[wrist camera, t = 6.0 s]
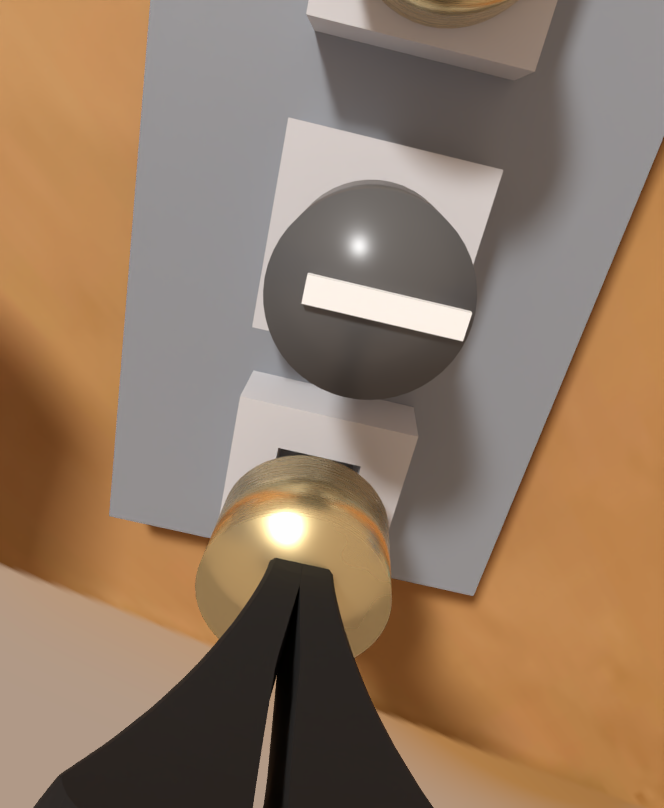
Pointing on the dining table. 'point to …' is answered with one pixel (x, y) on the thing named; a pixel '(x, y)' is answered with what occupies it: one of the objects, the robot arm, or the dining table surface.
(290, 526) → the knob
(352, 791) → the robot arm
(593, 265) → the mount
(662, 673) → the dining table surface
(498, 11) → the knob
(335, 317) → the pot knob
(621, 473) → the dining table surface
